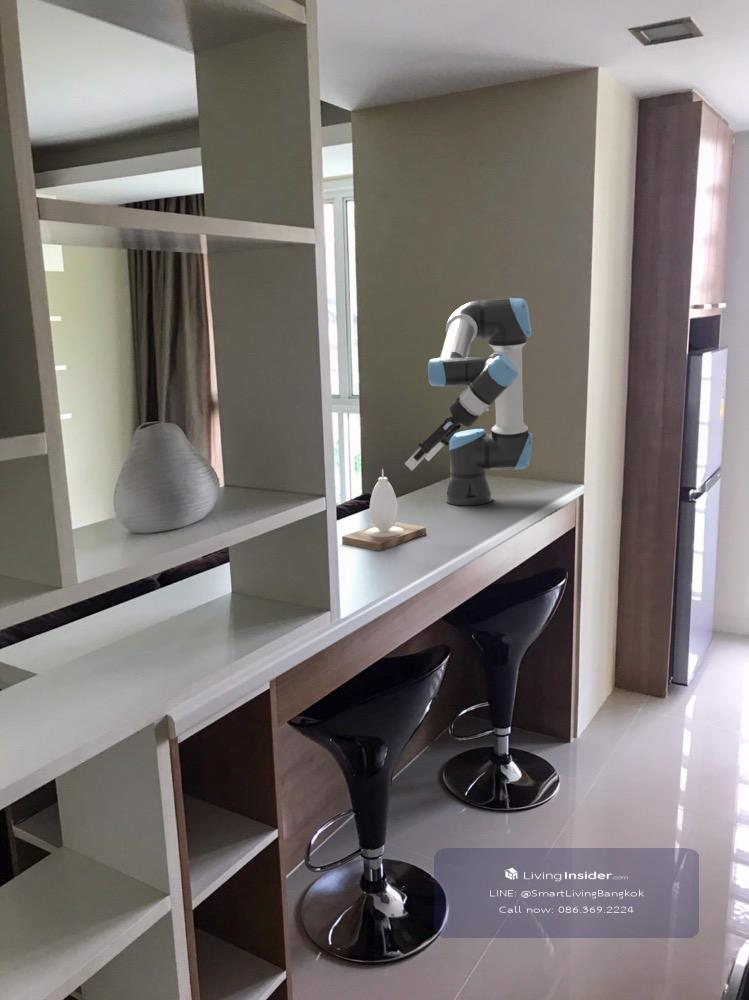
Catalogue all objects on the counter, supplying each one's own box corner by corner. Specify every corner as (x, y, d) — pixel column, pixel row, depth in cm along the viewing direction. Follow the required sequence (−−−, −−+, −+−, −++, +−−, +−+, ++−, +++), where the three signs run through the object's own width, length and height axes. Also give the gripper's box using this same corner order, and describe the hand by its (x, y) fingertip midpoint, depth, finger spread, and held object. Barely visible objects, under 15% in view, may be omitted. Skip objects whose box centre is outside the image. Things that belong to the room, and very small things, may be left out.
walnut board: (389, 527, 247) (389, 520, 246) (426, 534, 237) (426, 526, 237) (342, 543, 232) (342, 535, 232) (379, 550, 223) (379, 543, 223)
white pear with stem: (396, 535, 230) (394, 471, 226) (368, 534, 231) (366, 471, 227) (400, 527, 237) (398, 465, 233) (373, 527, 239) (371, 465, 235)
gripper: (465, 423, 205) (411, 481, 214) (491, 410, 228) (440, 463, 237) (444, 402, 206) (391, 460, 215) (472, 391, 228) (422, 444, 238)
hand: (417, 462), depth 226 cm, fingers open, 13 cm apart
